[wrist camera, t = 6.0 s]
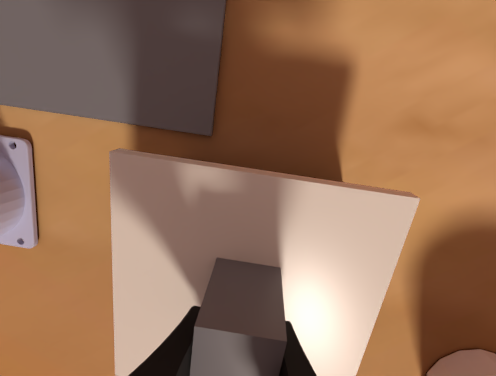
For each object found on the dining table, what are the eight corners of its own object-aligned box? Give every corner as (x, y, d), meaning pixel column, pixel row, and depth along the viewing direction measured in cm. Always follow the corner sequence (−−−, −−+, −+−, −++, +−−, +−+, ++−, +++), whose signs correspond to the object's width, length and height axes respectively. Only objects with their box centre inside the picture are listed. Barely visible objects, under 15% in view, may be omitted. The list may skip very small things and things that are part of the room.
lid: (122, 362, 16) (64, 466, 11) (119, 148, 12) (27, 176, 7) (338, 398, 16) (367, 520, 11) (410, 192, 12) (503, 250, 7)
